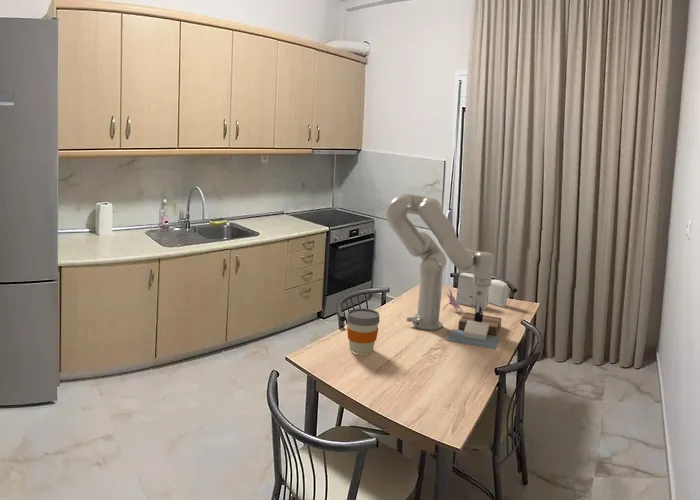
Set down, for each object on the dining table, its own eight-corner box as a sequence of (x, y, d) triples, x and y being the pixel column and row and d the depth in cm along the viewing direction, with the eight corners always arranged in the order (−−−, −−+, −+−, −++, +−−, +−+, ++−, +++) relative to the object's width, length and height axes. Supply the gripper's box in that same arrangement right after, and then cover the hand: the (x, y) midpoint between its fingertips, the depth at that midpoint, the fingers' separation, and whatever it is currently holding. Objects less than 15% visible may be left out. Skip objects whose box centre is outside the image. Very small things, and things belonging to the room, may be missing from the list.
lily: (447, 318, 279) (460, 301, 277) (430, 302, 286) (442, 286, 284) (459, 320, 288) (471, 304, 286) (442, 304, 295) (454, 289, 293)
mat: (453, 329, 261) (453, 328, 261) (500, 337, 254) (500, 337, 254) (446, 340, 248) (446, 339, 248) (495, 349, 241) (495, 348, 241)
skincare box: (455, 303, 298) (458, 274, 295) (459, 300, 303) (461, 271, 300) (471, 306, 294) (474, 277, 291) (475, 303, 299) (478, 274, 296)
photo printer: (485, 302, 302) (487, 278, 299) (490, 300, 305) (493, 277, 302) (502, 307, 294) (504, 283, 292) (507, 306, 297) (510, 282, 294)
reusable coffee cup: (358, 359, 224) (360, 321, 221) (338, 347, 234) (340, 311, 231) (384, 352, 232) (386, 315, 228) (364, 342, 242) (366, 306, 238)
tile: (467, 324, 258) (467, 320, 257) (488, 328, 255) (488, 323, 254) (463, 336, 252) (463, 331, 251) (485, 340, 249) (485, 335, 248)
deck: (464, 320, 273) (465, 312, 272) (500, 326, 268) (501, 318, 267) (458, 330, 260) (459, 321, 260) (495, 336, 255) (496, 327, 254)
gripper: (488, 286, 245) (483, 329, 249) (494, 278, 259) (489, 319, 263) (469, 284, 248) (465, 326, 252) (476, 275, 261) (472, 316, 265)
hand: (478, 322), depth 257 cm, fingers closed
